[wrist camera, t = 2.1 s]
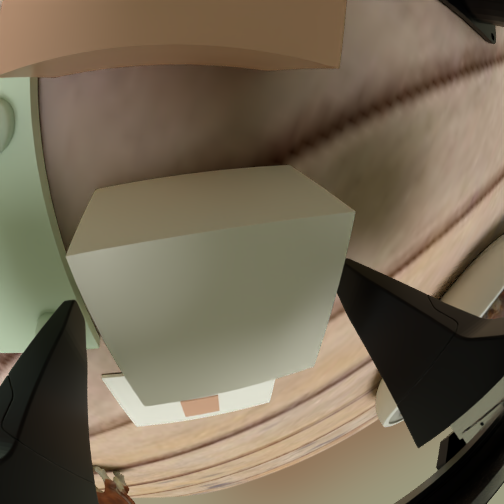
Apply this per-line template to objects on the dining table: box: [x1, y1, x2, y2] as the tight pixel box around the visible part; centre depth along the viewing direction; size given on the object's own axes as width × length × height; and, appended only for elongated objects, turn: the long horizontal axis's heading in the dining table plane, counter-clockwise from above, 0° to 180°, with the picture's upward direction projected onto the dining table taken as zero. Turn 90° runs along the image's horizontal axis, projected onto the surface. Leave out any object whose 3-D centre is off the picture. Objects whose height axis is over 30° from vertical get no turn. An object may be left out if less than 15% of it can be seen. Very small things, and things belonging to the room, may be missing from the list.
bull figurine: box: [92, 466, 135, 504], centre depth 17 cm, size 4×13×8 cm, turn 72°
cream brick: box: [66, 165, 356, 407], centre depth 9 cm, size 6×6×4 cm
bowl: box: [375, 235, 504, 427], centre depth 24 cm, size 30×30×8 cm
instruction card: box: [102, 373, 275, 427], centre depth 15 cm, size 10×7×1 cm
